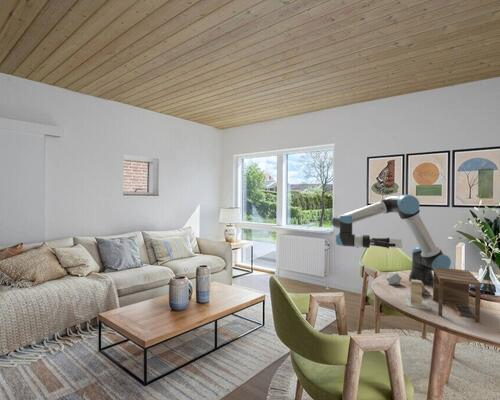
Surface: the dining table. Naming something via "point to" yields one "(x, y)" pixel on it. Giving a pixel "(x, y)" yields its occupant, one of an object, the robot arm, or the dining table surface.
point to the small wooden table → (456, 290)
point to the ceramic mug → (424, 290)
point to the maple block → (416, 292)
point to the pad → (424, 305)
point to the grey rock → (393, 278)
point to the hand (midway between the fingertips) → (401, 243)
